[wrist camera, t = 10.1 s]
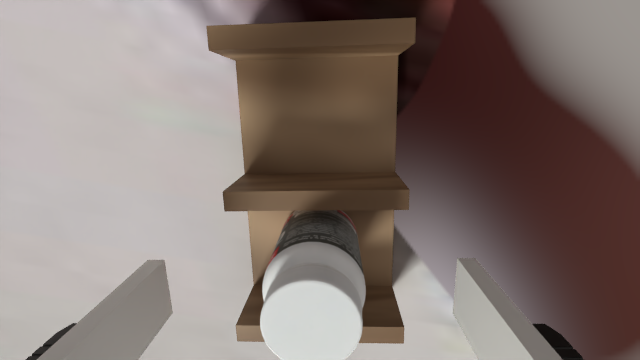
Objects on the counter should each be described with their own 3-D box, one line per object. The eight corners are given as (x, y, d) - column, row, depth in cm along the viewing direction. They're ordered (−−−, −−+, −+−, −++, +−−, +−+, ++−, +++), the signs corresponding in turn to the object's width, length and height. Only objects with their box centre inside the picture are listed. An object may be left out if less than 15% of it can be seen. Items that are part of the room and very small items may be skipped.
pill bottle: (275, 206, 20) (236, 277, 12) (352, 196, 20) (363, 262, 12) (289, 276, 22) (261, 382, 13) (362, 267, 21) (378, 372, 13)
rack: (239, 44, 19) (206, 25, 14) (395, 39, 19) (415, 17, 14) (258, 290, 23) (237, 341, 18) (389, 291, 23) (403, 343, 18)
